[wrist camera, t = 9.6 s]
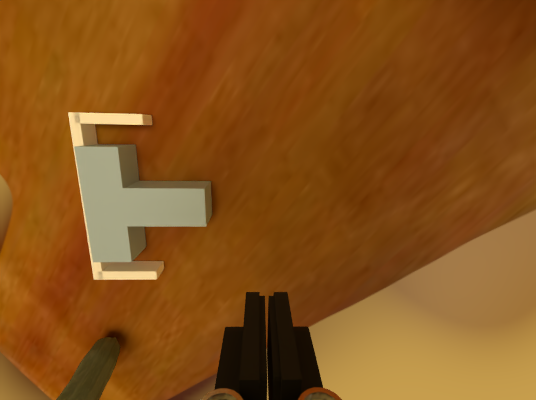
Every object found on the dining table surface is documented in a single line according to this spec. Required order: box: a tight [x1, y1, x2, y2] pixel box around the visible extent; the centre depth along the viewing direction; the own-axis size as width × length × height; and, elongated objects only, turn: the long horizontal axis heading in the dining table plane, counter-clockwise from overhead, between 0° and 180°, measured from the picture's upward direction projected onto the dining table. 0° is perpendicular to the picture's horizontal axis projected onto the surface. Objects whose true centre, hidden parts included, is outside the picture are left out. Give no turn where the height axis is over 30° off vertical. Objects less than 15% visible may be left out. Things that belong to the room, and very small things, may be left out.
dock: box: [68, 112, 164, 279], centre depth 30 cm, size 7×18×2 cm, turn 179°
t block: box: [74, 144, 212, 262], centre depth 29 cm, size 12×12×4 cm
